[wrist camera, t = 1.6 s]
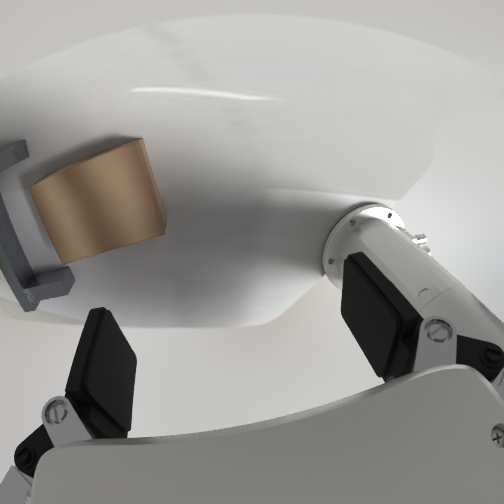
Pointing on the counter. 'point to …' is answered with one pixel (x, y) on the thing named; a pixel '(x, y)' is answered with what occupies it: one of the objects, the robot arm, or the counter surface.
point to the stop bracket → (12, 256)
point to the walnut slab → (101, 203)
